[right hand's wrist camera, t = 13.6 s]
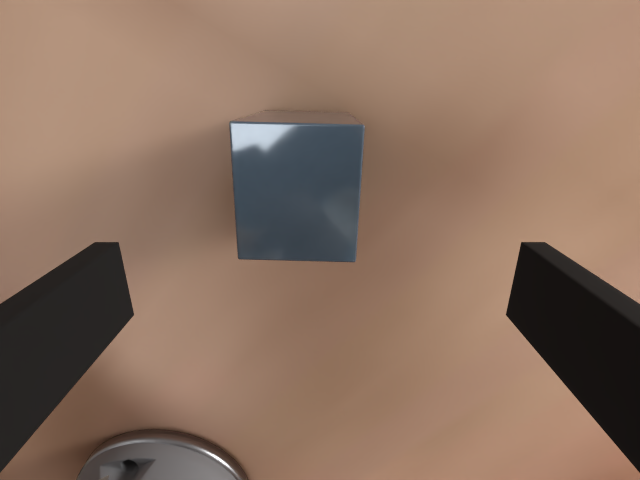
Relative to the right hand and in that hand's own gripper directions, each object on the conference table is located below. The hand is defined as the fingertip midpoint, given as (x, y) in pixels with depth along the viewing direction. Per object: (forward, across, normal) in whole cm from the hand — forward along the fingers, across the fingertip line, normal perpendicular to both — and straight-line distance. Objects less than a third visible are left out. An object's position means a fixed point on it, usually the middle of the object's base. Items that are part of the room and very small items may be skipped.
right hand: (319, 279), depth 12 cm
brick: (+12, +1, -2) cm, 12 cm away
